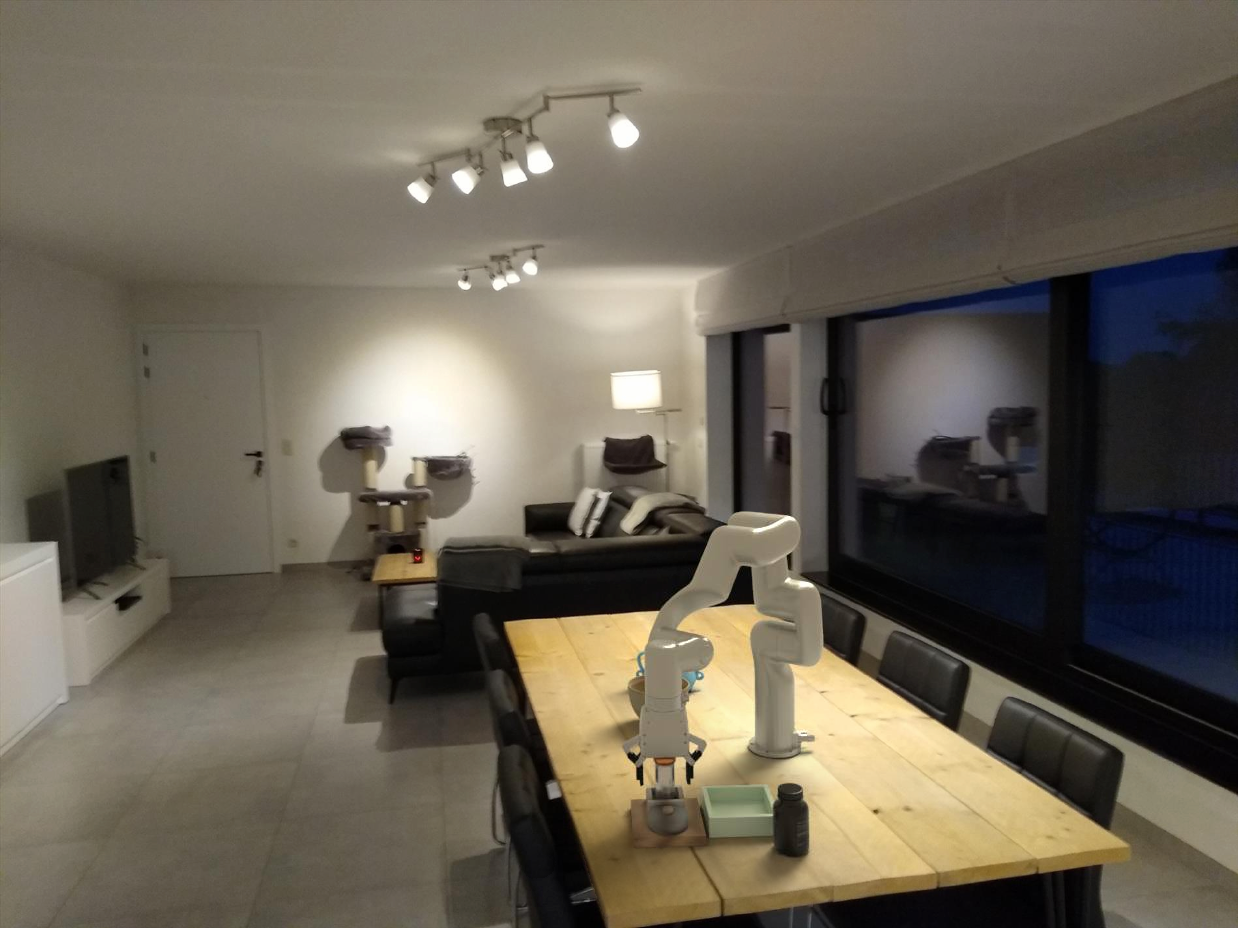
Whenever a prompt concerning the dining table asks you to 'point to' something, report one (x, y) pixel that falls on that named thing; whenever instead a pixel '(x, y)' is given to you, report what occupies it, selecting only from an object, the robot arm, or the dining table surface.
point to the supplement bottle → (790, 821)
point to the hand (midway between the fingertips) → (664, 782)
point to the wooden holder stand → (667, 821)
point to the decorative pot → (689, 676)
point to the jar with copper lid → (664, 778)
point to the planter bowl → (638, 692)
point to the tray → (738, 810)
